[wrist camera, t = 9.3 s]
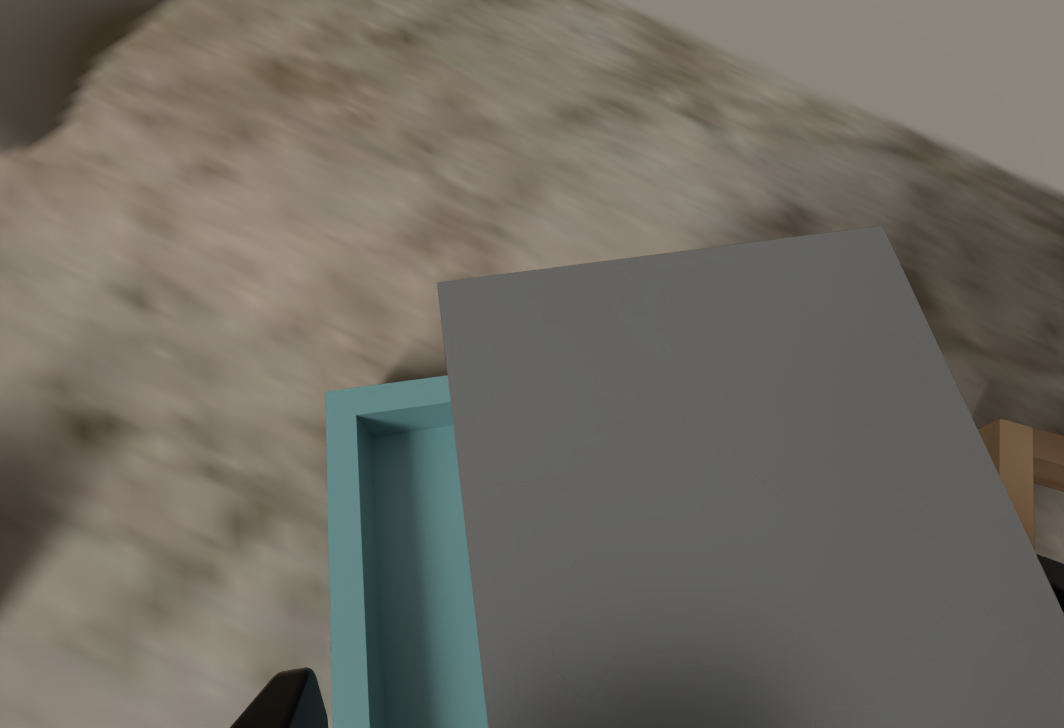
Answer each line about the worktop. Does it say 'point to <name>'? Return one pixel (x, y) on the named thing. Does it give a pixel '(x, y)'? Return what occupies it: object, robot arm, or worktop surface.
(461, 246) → the worktop surface
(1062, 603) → the robot arm
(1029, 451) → the socket
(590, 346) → the plate
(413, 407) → the parts tray
